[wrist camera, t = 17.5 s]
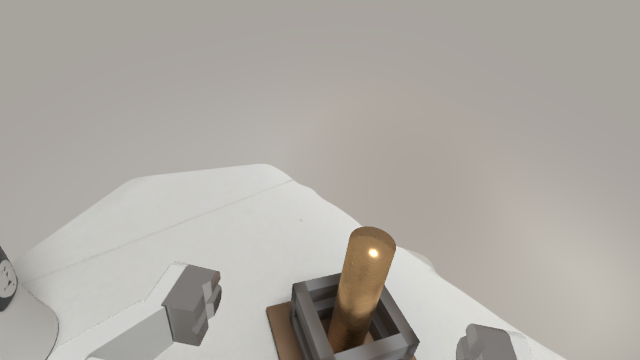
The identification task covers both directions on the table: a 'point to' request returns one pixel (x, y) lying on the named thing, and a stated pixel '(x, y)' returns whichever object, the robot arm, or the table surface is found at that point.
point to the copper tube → (360, 287)
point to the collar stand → (314, 321)
